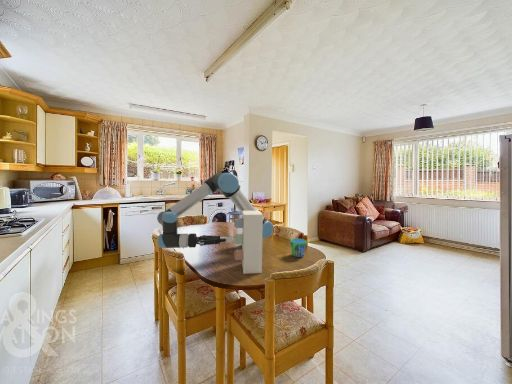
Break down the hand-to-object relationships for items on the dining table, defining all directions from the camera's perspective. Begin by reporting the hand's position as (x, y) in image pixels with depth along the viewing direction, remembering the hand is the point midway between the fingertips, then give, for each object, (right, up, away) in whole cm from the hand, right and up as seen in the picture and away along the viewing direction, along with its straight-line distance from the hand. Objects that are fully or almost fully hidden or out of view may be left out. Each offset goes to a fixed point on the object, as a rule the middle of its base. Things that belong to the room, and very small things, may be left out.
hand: (231, 239), depth 125 cm
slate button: (+4, +7, 0) cm, 8 cm away
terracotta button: (+4, -11, +1) cm, 12 cm away
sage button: (+4, -2, +1) cm, 4 cm away
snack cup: (+42, -16, +24) cm, 50 cm away
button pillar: (+11, -17, +3) cm, 20 cm away
